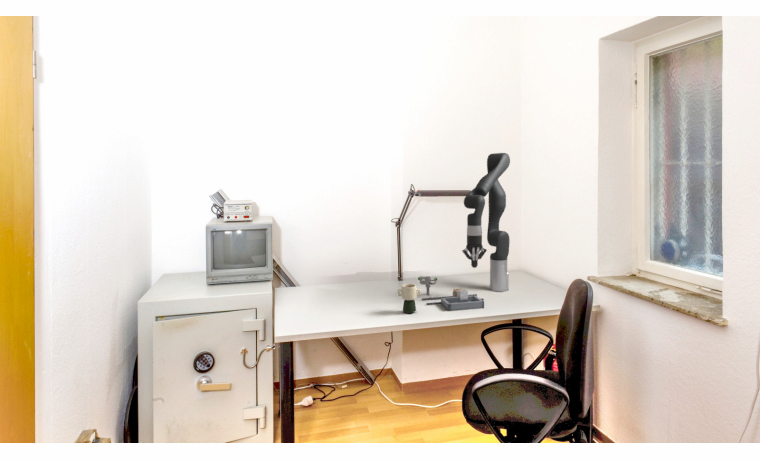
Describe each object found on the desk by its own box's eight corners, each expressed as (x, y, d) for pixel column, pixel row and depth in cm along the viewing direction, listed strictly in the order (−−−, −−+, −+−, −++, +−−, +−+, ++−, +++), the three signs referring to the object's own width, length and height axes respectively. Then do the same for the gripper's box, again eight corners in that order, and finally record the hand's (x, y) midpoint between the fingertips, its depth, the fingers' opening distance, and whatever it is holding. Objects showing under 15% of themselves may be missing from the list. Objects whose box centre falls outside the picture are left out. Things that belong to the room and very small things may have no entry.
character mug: (419, 309, 204) (419, 283, 202) (421, 314, 196) (421, 287, 195) (397, 310, 203) (396, 284, 202) (398, 315, 196) (398, 287, 195)
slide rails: (476, 295, 224) (476, 294, 224) (483, 300, 214) (483, 299, 214) (421, 300, 219) (421, 298, 219) (427, 305, 209) (427, 303, 209)
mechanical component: (437, 296, 226) (437, 277, 225) (418, 295, 228) (417, 277, 227) (437, 294, 229) (437, 276, 227) (418, 294, 231) (418, 276, 229)
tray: (475, 302, 213) (475, 295, 213) (484, 308, 202) (484, 301, 202) (441, 304, 210) (440, 298, 209) (448, 311, 199) (448, 304, 199)
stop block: (464, 303, 208) (464, 289, 207) (468, 305, 204) (468, 291, 203) (457, 303, 207) (457, 290, 207) (460, 306, 204) (460, 292, 203)
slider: (462, 297, 220) (462, 288, 220) (466, 300, 215) (466, 291, 215) (452, 298, 219) (452, 289, 219) (455, 301, 214) (455, 291, 214)
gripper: (483, 232, 219) (483, 265, 222) (459, 233, 217) (459, 266, 219) (489, 234, 212) (489, 268, 214) (464, 235, 210) (464, 269, 212)
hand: (474, 267), depth 217 cm, fingers closed
